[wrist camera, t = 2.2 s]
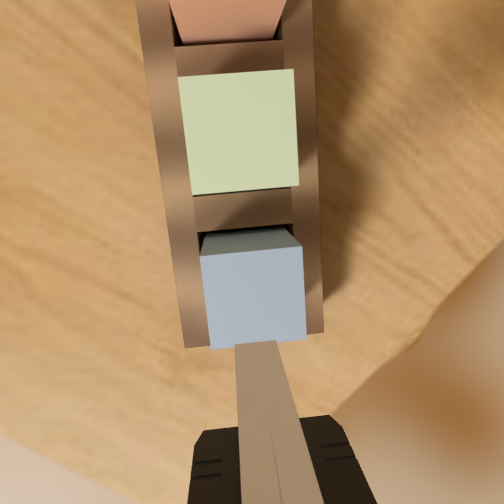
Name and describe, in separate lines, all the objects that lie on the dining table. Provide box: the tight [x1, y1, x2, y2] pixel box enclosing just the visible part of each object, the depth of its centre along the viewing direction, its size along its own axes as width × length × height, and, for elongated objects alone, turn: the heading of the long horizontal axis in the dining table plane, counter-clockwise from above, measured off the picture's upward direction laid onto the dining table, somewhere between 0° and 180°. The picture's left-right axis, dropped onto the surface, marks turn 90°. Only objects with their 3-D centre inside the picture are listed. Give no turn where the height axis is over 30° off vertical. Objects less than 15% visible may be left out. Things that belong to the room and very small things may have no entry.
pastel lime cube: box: [178, 69, 299, 195], centre depth 22 cm, size 6×6×7 cm
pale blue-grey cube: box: [200, 227, 307, 350], centre depth 24 cm, size 6×6×7 cm
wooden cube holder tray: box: [135, 0, 324, 348], centre depth 26 cm, size 30×11×4 cm, turn 5°
